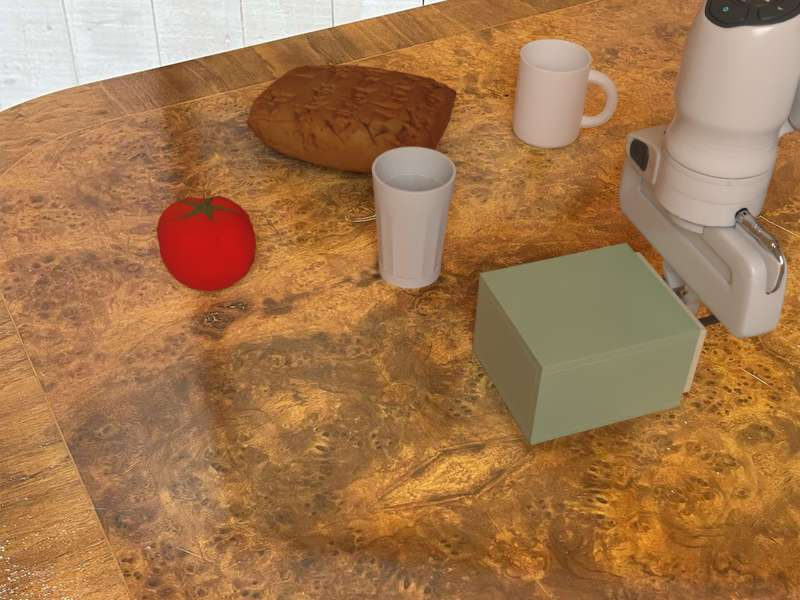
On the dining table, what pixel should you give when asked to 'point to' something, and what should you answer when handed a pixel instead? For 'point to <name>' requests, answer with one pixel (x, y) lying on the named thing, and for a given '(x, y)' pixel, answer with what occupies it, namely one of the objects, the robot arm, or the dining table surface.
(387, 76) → the brown bread loaf
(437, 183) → the cup
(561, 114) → the mug
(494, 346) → the cabinet
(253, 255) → the tomato
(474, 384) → the dining table surface
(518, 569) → the dining table surface
